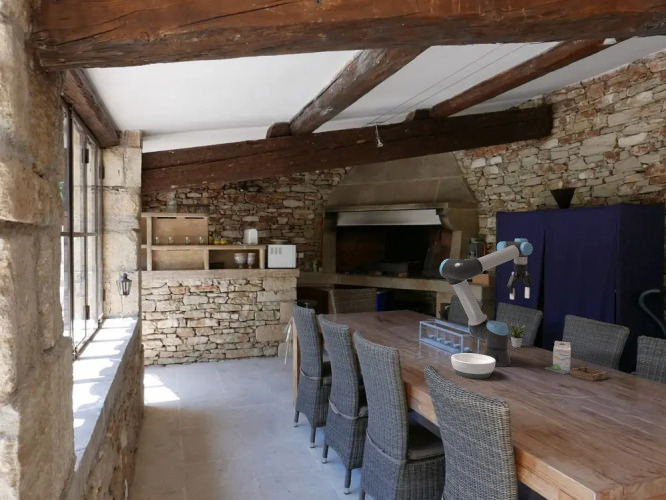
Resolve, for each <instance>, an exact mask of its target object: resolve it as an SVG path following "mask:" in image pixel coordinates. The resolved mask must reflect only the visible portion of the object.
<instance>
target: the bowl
mask: <svg viewBox="0 0 666 500" xmlns="http://www.w3.org/2000/svg"><path fill="white" fill-rule="evenodd" d="M450 360H451V364H452V365H451V366H452V367H453V370H454V371H455V373H456V375H457V376H460V377H463V378H466V379H467V378H468V379H480V380H481V379H486V378H489V377H490V376H491V374H492V373H493V372H494V369H495V367H496V366H495V362H496V360H495V359H494V358H492V357H490V356H486V355H484V354H481V353H471V352H469V353H468V352H465V353H464V352H462V353H455V354H452V355H451V356H450Z"/></svg>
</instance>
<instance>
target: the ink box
mask: <svg viewBox="0 0 666 500" xmlns="http://www.w3.org/2000/svg"><path fill="white" fill-rule="evenodd" d="M571 345H572V344H571V342H568V341H567V342H566V341H559V340H555V341H554V346H553V353H552V366H553V369H557V370H564V371H570V369H571V363H572V362H571V361H572V360H571V359H572V358H571V357H572V355H571V354H572V351H571V350H572V349H571Z"/></svg>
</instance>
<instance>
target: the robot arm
mask: <svg viewBox="0 0 666 500" xmlns="http://www.w3.org/2000/svg"><path fill="white" fill-rule="evenodd" d="M533 250H534V247H533V245H532V243H530V242H529V240H528V239H527V238H514V241H504V240H503V241H499V242H498V243H497V245H496V251H494V252H492V253H491V252H490V253H489V254H486V255H484V256H483V255H482V257H473V258H470V259H459V258H458V259H457V258H456V259H455V258H446V259H444V260H443V261H442V262H440V263H441V264H440V266H439V273H440V276H441V277H443V278H444V279H446V281H447V283H448V284H449V286H452V287H453V289H454V291H455V293H456V296H457V297H458V299H459V300H458V301H460V304H461V305H462V307H463V309H464V312H465V314H466V316H467V318H468V320H467V324H468V327H467V328H468V333H469V334H470V336H471V337H473V338H474V339H476V340H479V341H482V342H485V343H486V344H485V345H486V348H485V352H484V354H483V355H486V356H490V357H492V358H494V359H495V360H496V362H495V367H499V368H501V367H502V368H503V367H504V368H505V367H510V366H511V363H512V361H511V358H510V354H509V352H508V350H509V349H508V348H509V331H510V330H509V326H508V323H507V324H505V322H503V321H497V320H489V317H488V316H487V314H485V313H483V311H482V310H481V306H480V305H479V302H478V301H477V299H476V297H475V295H474V293H473V291H472V289H471V287H470V284H469V282H468V280H469V279H472V278H475V277H476V276H479V275H481V274H483V273H484V271H488V270H489V269H491V268H495V267H498V266H500V265H502V264H504V263H506V262H509V261H512V260H513V263H514V264H513V270H514V271H511V273H510V277H509V279H508V283H507V286H506V287H507V288H508V289H509V299H510V300H515V295H516V294H515V293H516V292H515V287H516V284H517V283H518V281H519V280H522V282H523V283H524V285H525V287H524V298H525V299H530V295H531V294H530V292H531V288H532V287H533V286H534V285H533V281H532V279H531V276H530V273H531V272H530V271H528V256H529V255H531V254H532V252H533Z"/></svg>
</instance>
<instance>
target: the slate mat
mask: <svg viewBox="0 0 666 500" xmlns="http://www.w3.org/2000/svg"><path fill="white" fill-rule="evenodd" d="M543 369H545V370H546V371H547V370H548V371H551V372H554V373H558V374H562V375H568V374H570V371H564V370H557V369H553V365H552V366H547V367H544V368H543Z"/></svg>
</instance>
